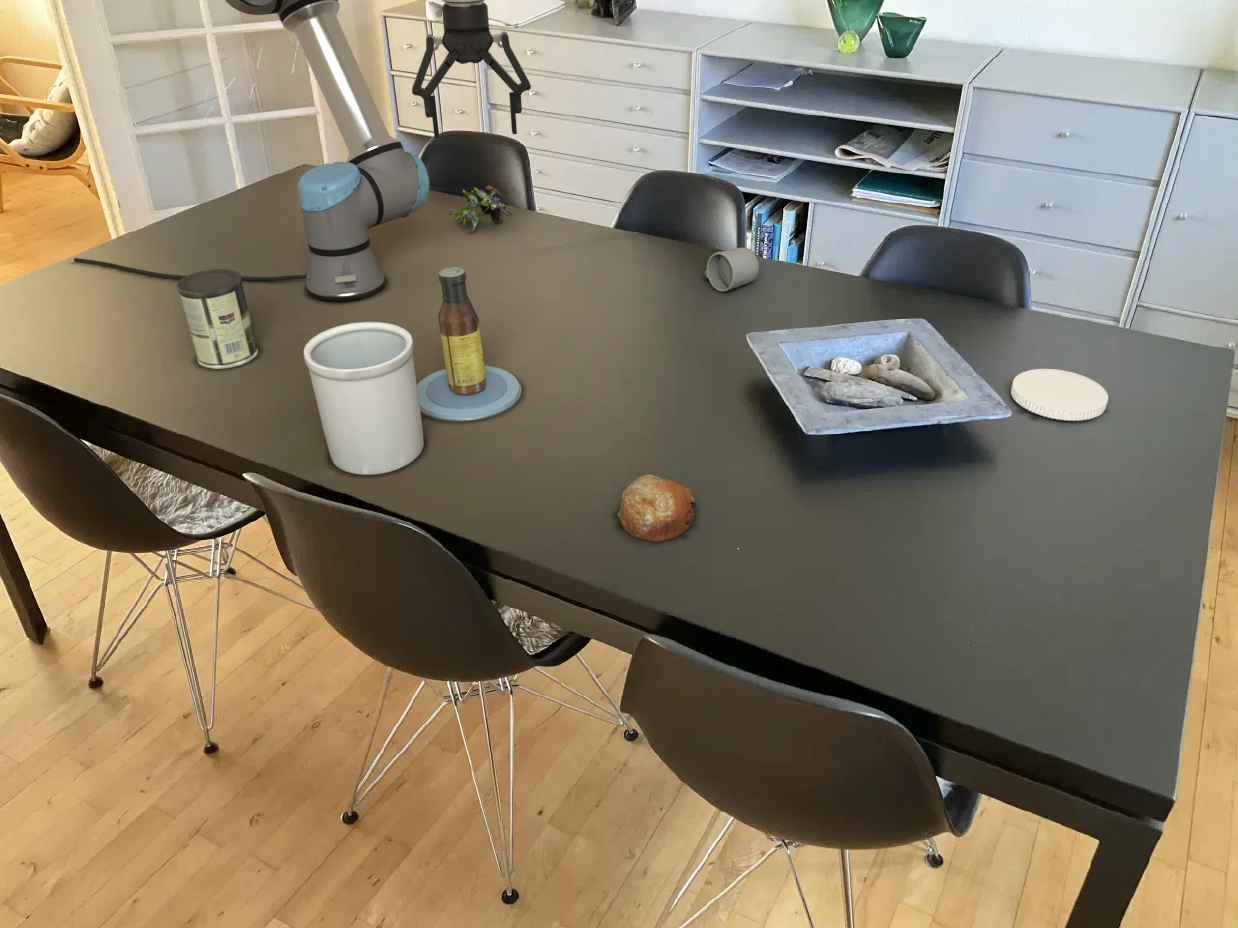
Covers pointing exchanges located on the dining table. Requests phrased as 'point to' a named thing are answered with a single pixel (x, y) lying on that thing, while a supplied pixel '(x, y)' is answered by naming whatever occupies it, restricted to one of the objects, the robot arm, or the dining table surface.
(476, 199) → the passion flower
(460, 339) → the sauce bottle
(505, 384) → the blue plate
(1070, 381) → the plastic lid
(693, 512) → the bread roll
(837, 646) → the dining table surface
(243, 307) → the coffee can
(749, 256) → the ceramic mug
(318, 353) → the utensil holder
